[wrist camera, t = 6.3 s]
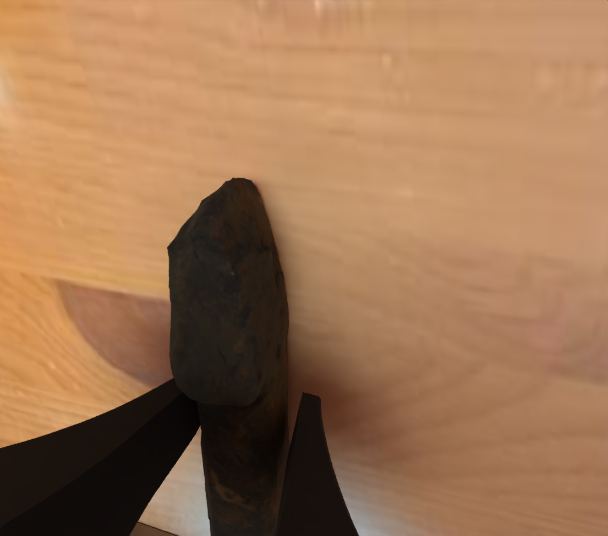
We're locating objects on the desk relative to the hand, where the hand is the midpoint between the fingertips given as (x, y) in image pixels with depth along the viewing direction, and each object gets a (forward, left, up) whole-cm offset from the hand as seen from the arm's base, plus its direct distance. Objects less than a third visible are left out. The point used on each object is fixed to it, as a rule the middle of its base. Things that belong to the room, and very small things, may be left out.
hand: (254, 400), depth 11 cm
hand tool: (0, +2, -2) cm, 2 cm away
